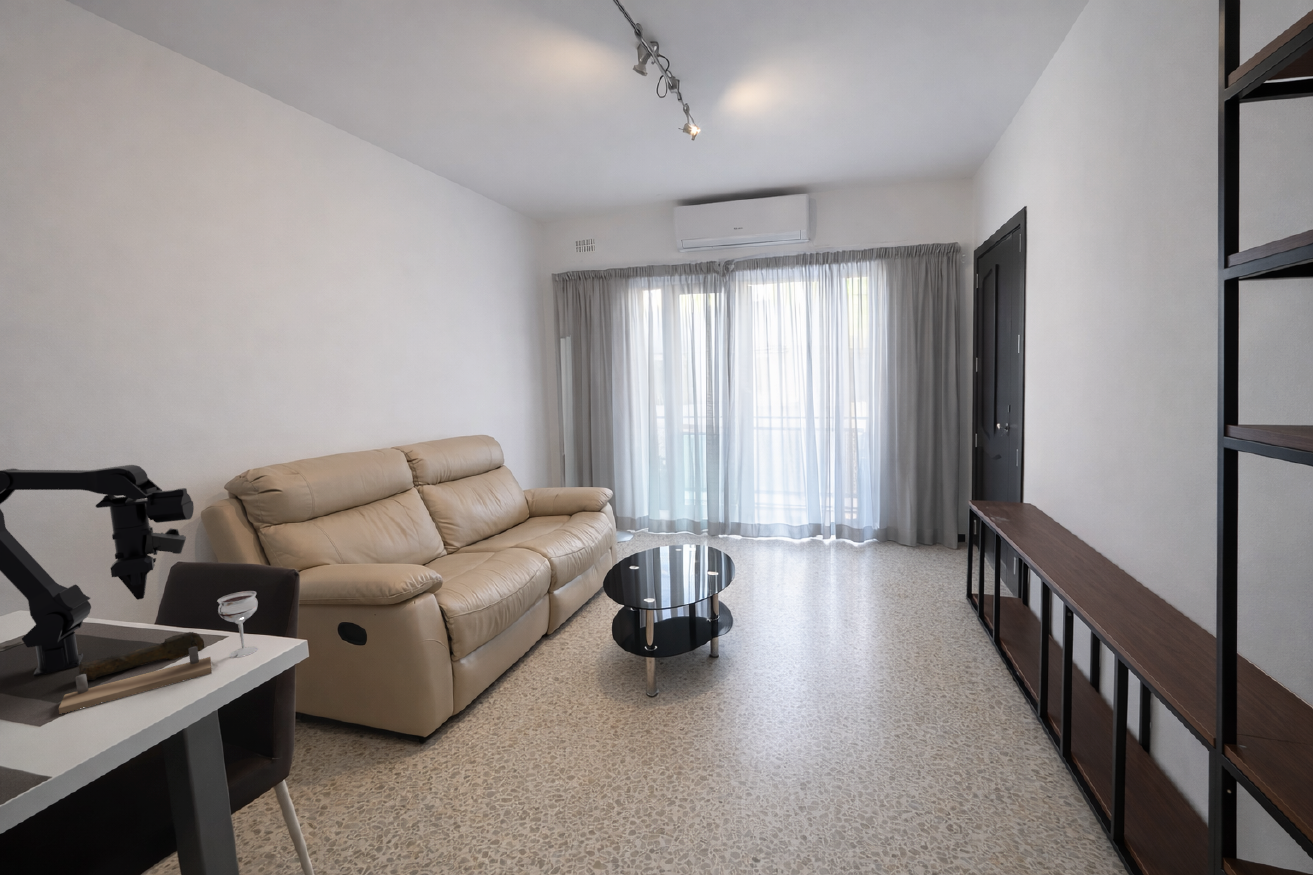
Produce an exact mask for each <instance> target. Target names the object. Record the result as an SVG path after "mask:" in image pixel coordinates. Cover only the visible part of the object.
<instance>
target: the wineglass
mask: <svg viewBox="0 0 1313 875" xmlns="http://www.w3.org/2000/svg"><path fill="white" fill-rule="evenodd" d="M256 595H257V591H254V590H246V591H239V592H234V593H230V594H227V595H224V596H222V597H220V598H218V599H217V601H216V602H218V604H219V606H218V609H217V611H218V612H217V613H218V615H219V616H220V618H222V619H224V620H225V621H227V622H231V623H235V625H237V626H238V631H239V632H238V633H239V639H240V643H241V648H238V649H236V650H234V651H232V652H230V653H229V655H228V656H229V657H230V658H232V659H233V658H242V657H247V656H249V655H251V654H254V653H255V652H257V651H258V649H259V648H258V647H257V646H245V638H244V637H245V636H244V625H243V623H244V622H245V621H246V620H248V619H249V618H251V616H253V615H254V613H255V612H256V611H257V610H258V604H259V602H258V599H257V598H256Z"/></svg>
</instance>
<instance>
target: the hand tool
mask: <svg viewBox="0 0 1313 875" xmlns="http://www.w3.org/2000/svg"><path fill="white" fill-rule="evenodd" d="M195 646H197V648H198V652H199V651H202V650H204V648H205V641H204V639H203V638H202V637H201V635H200V634H198V633H197V632H194V631H192V632H191V631H189V632H185V633H180V634H175V635H172V636H170V637H167V638H164V642H160V643H158V644H157V643H156V644H153V645H150V646H146V647H141V648H138V649H135V650H130V651H128V652H124V653H120V654H114V655H110V656H107V657H102V658H99V659H95V660H92V661H81V662H80V664H79V665H78V671H79V672H78V673H79V675H82V674H86V677H87V682H88V681H91V680H92V681H95V680H96V679H97V678H99V677H100V678H101V677H103V676H107V675H111V674H115V673H117V672H121V671H125V670H127V669H128V670H129V669H132V668H137V667H140V666H144V665H147V664H149V663H153V662H157V661H162V660H169V661H173V660H176V659H180V658H182V657H186V656H189V655H188V654H189V650H188V649H189V648H191V647H195ZM185 655H186V656H185ZM179 657H180V658H179Z"/></svg>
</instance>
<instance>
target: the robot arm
mask: <svg viewBox="0 0 1313 875" xmlns="http://www.w3.org/2000/svg"><path fill="white" fill-rule="evenodd" d="M17 490H18V491H24V490H25V491H42V490H43V491H59V490H60V491H75V490H76V491H86V492H91V493H94V494H98V495H104V496H103V498H102V499H101V500H100V501H99V502H98V503H96V504H95V508H96V509H97V508H101V509H102V508H109V512H110V519H111V526H112V532H113V533H112V535H111V537H112V540H113V542H114V547H115V554H114V558H115V561H114V562H113V563H112V564H111V567H110V573H111V574H110V575H111V578H119V580H120V581H121V582H122V583H123V585H125V587H126V588H127V590H128V591H129V592H130V593H131V594H132V596H133V597H134V598H135V599H136V600H143V599H144V598H145V594H146V587H147V580H148V579H147V578H148V574H149V573H150V572H151V571H153V570H154V568H155V566H156V565H155V563H156V561H157V558H153V557H154V556H156V555H158V552H167V553H172V554H176V555H179V554H182V552H183V548H184V546H185V543H186V539H187V538H186V536H185V535H184V534H181V535H180V532H179V529H178V528H172V527H171V528H168V529H167V531H166V532H165V533H164V532H154V529H153V527H152V526H151V525H150V521H153V522H155V523H156V524H159V523H169V522H177V521H179V522H180V521H187V520H191V519H192V518H193V515H194V508H195V507H194V501H193V500H192V498H191V495H190V494H189V493H188V490H187V488H184V487H183V488H181V487H180V488H176V489H172V490H163V489H161V487H159V486H158V485H157V484H156V483H155V482H153V480H151V479H150V478H149V477H148V473H147V472H146V471H145V470H144V469H143V468H142V467H141V466H139V465H136V464H127V465H119V466H118V465H117V466H113V467H111V466H110V467H104V468H103V467H102V468H99V469H98V468H97V469H91V470H90V469H89V470H88V469H87V470H85V469H82V470H80V469H78V470H77V469H75V470H74V469H66V470H65V469H18V468H6V469H2V470H0V505H1V504H4V502H6V500H8V499H9V498H10V497H11V496H12V494H14V492H16V491H17ZM4 515H5V514H4V512H3V510H2V509H1V508H0V572H1V573H2V574H3V576H5V578H6V579H8V581H9V582H10V583H11V584H12V585H13V586H14V587H15V588H16V590H18V591H19V592H20V594H22V595H23V597H24V598H26V600H27V602H28V609H29V615H30V617H31V619H32V621H33V622H34V624H35V625H33V627H32V628H30V630H29V631H28V632H26V634H25V635H24V636H22V638H21V641H22V642H23V643H24V645H25V647H27V648H33V647H35V652H36V657H37V664H38V665H37V666H36V669H35V670H34V672H33V676H34V677H37V676H41V675H45V674H49V673H54V672H59V671H62V670H65V669H70V668H74V667H79V665H80V663H81V662H82V660H83V659H84V658H83V657H84V653H78V652H79V651H78V646H77V638H76V632H75V631H77V630H78V629H81V627H82V626H83V622H84V620H85V619H87V617H88V616H89V615H90V613H91V609H92V605H91V603H90V601H89V600H91V597H90V596H87V595H86V594H85V593H84V592H83V591H82V589H81V588H80V586H79V585H78V584H73V585H71V586H69V587H67V586H64V585H61V584H59V583H57V582H56V581H55V580H54V578H52V576H51V575H50V574H49V573H48V572H47V571H46V570H45V569H44V568H43V567H42V565H40V564H39V563H38V561H37V560H36V559H35V558H33V556H32V555H31V554H30V553H29V551H28V550H27V549H26V548H25V547H24V546H23V545H22V544H21V543H20V542H19V541H18V540H17V539H16V538H15V537H14V536H13V535H12V534H11V532H10V531H8V529H7V527H6V522H5V516H4ZM149 520H150V521H149ZM152 554H153V557H152V556H151V555H152Z"/></svg>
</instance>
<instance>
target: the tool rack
mask: <svg viewBox="0 0 1313 875" xmlns="http://www.w3.org/2000/svg"><path fill="white" fill-rule="evenodd" d="M188 650H189V655H188V658H189V661H188V662H184V663H180V664H177V665H174V666H173V665H172V666H169V667H165V668H162V669H158V670H157V669H156V670H154V671H150V672H147V673H143V674H139V675H135V676H131V677H127V678H124V679H123V678H122V679H120V680H119V679H118V680H116V681H111V682H108V683H104V684H99V685H97V686H92V687H88V686H89V685H88V681H87V677H86V674H82V675H77V676H75V684H76V685H75V686H76V691H73V692H70V693H66V694H64V695H63V698H62V699H61V701H60V702H61V703H59V706H58V713H59V714H61V713H65V714H68V713H71V712H70V711H72V712H75V711H78V710H77V709H79V710H81V709H80V708H83V707H86V708H89V707H94V706H96V705H95V704H97V705H100V704H99V703H101V702H105V703H107V702H106V701H108V702H111V700H112V701H115V700H119V699H122V697H123V698H126V697H129V696H133V695H138V694H140V693H145V692H148V691H151V689H152V690H154V689H159V688H162V687H166V686H165V685H167V686H170V685H173V684H172V683H174V684H178V683H180V682H184V681H183V680H185V681H188V680H191V679H190V678H192V679H195V678H198V677H202V676H205V675H209V674H212V661H211V660H212V659H211V656H208V657H204V658H199V651H198V648H197V646H195V647H191V648H189V649H188ZM187 679H188V680H187ZM169 684H170V685H169ZM144 691H145V692H144ZM125 696H126V697H125ZM118 698H119V699H118ZM101 704H102V703H101ZM93 705H94V706H93ZM83 709H84V708H83ZM74 710H75V711H74ZM67 712H68V713H67ZM61 715H62V714H61Z"/></svg>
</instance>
